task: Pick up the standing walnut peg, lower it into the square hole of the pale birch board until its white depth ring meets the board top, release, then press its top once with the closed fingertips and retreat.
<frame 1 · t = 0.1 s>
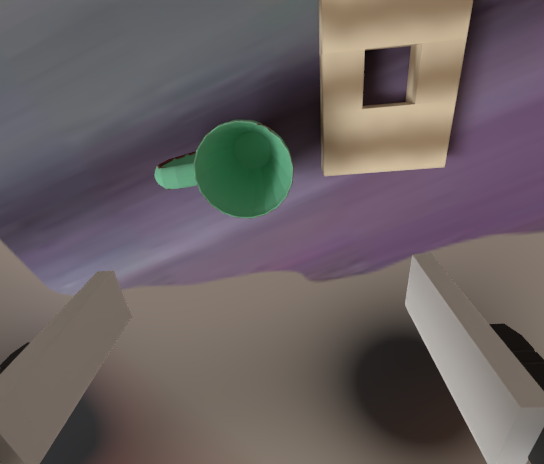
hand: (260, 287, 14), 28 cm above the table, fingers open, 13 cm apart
board: (382, 77, 34), on the table
mug: (234, 152, 39), on the table
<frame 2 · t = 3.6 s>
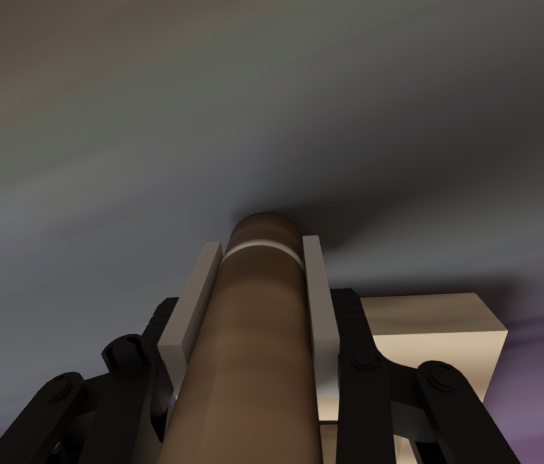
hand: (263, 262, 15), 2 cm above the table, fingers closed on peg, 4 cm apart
board: (349, 402, 23), on the table
peg: (265, 245, 17), on the table, touching gripper
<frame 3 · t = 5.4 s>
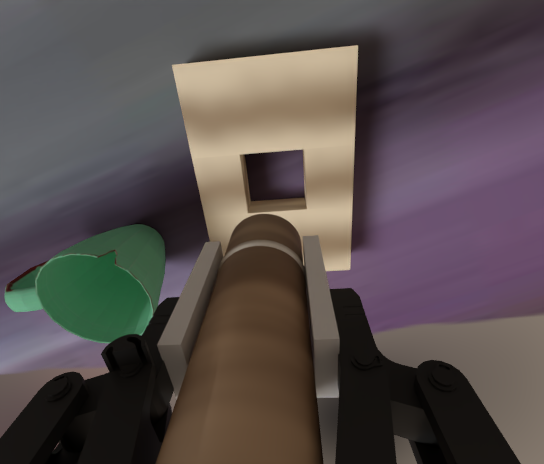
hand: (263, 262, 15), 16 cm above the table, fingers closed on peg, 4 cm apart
board: (275, 173, 30), on the table
mug: (123, 244, 35), on the table
peg: (265, 246, 17), point 15 cm above the table, touching gripper
when the fingers open (4 cm above the table, at t = 7.6 s): peg drops 2 cm, resting in board.
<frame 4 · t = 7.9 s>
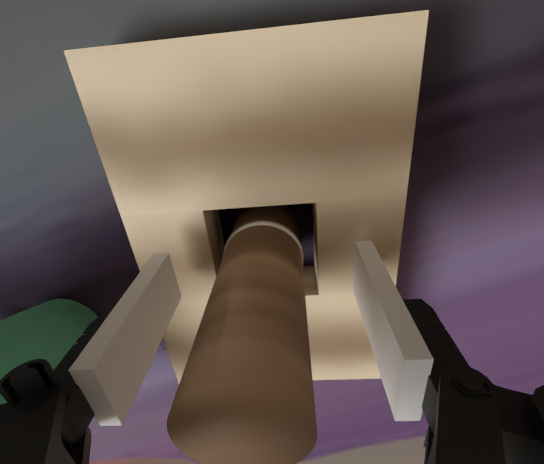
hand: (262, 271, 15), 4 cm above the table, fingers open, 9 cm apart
board: (267, 229, 19), on the table
mug: (43, 323, 23), on the table
peg: (266, 230, 19), resting in board
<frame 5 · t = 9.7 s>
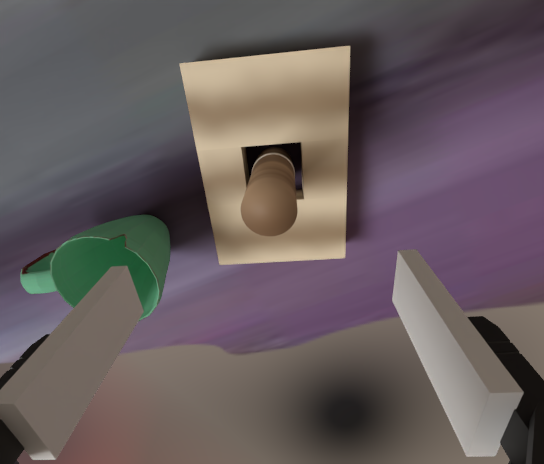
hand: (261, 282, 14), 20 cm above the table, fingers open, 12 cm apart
board: (274, 165, 32), on the table
mug: (130, 234, 37), on the table
peg: (274, 166, 32), resting in board
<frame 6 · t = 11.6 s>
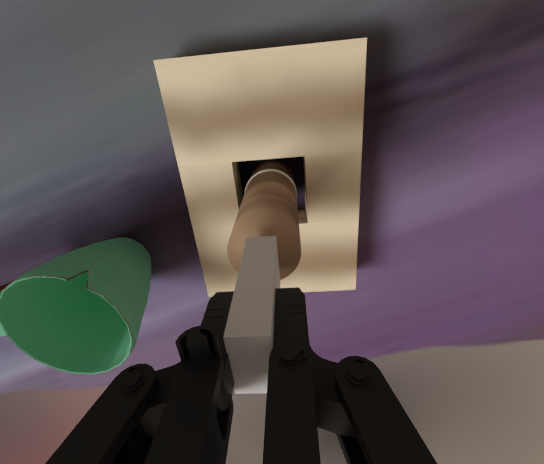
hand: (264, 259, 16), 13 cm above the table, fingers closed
board: (272, 182, 27), on the table
mug: (106, 258, 32), on the table
peg: (272, 182, 27), resting in board
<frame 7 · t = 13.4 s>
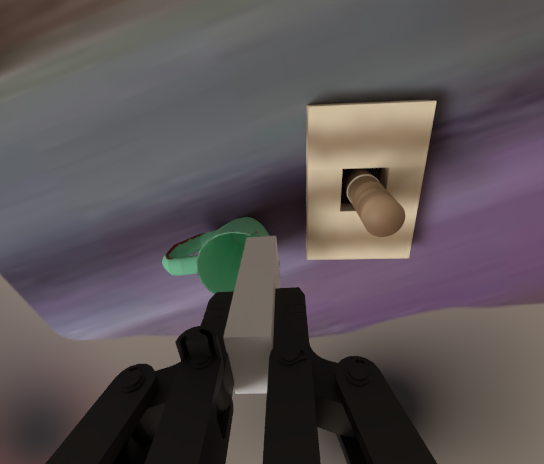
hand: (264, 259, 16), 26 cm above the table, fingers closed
board: (358, 183, 41), on the table
mug: (231, 232, 45), on the table
peg: (358, 183, 41), resting in board
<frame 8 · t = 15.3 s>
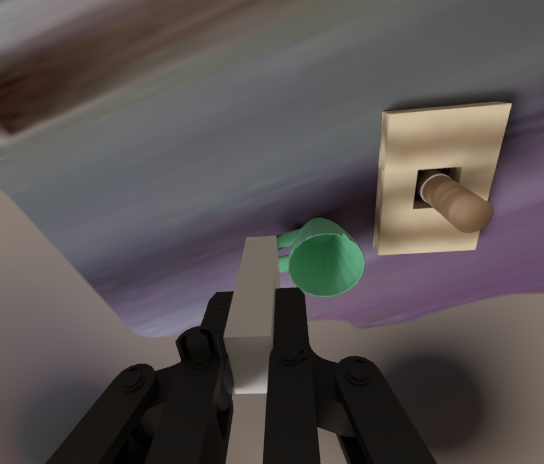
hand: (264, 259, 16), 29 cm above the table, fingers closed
board: (427, 181, 43), on the table
mug: (302, 232, 48), on the table
peg: (427, 181, 43), resting in board
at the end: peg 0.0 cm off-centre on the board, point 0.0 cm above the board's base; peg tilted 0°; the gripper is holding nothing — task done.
